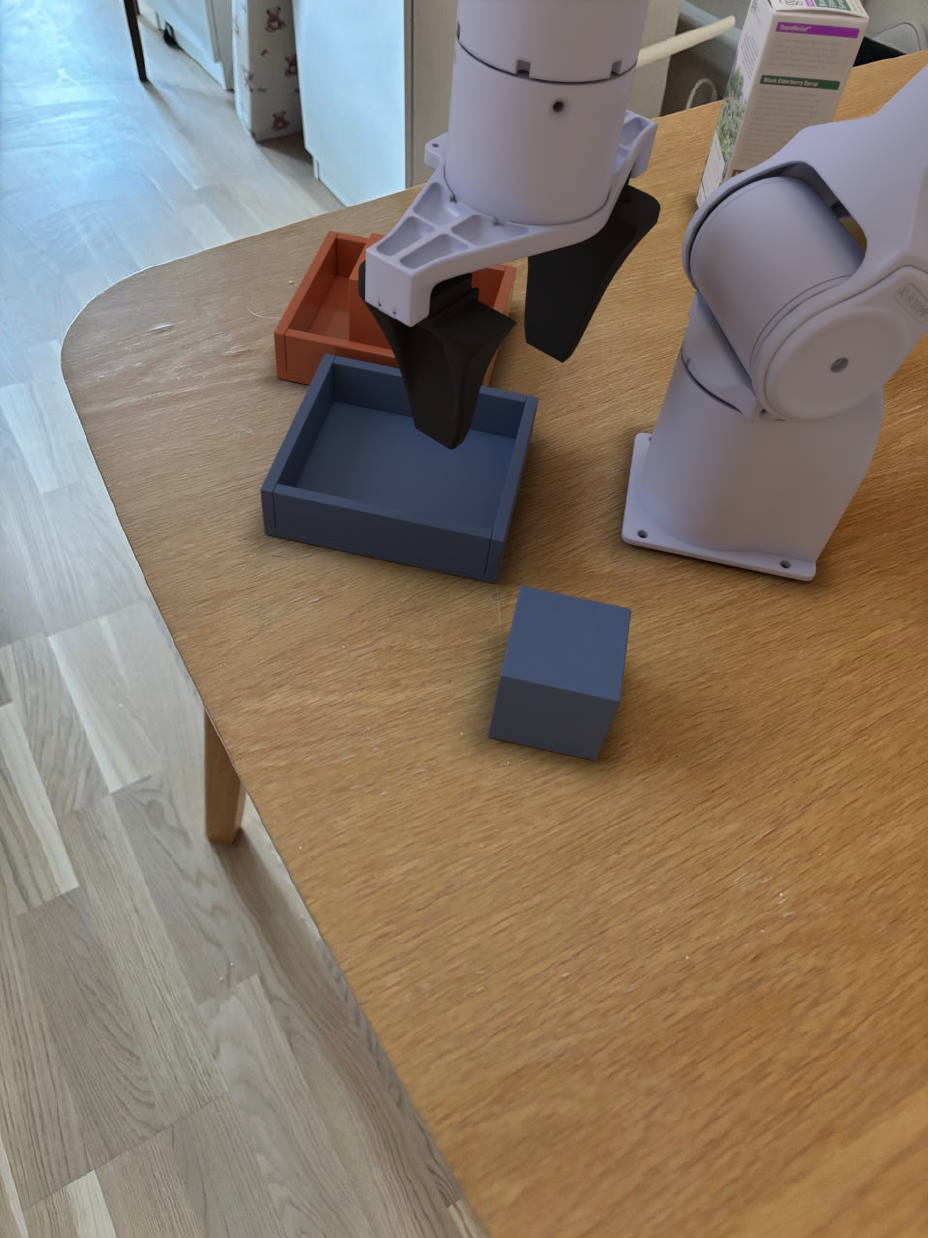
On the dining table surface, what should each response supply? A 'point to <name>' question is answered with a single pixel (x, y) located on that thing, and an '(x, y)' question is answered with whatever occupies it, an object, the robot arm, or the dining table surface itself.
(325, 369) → the blue bin
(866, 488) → the dining table surface
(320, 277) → the terracotta bin
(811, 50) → the syrup box
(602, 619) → the blue block
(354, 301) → the terracotta block
